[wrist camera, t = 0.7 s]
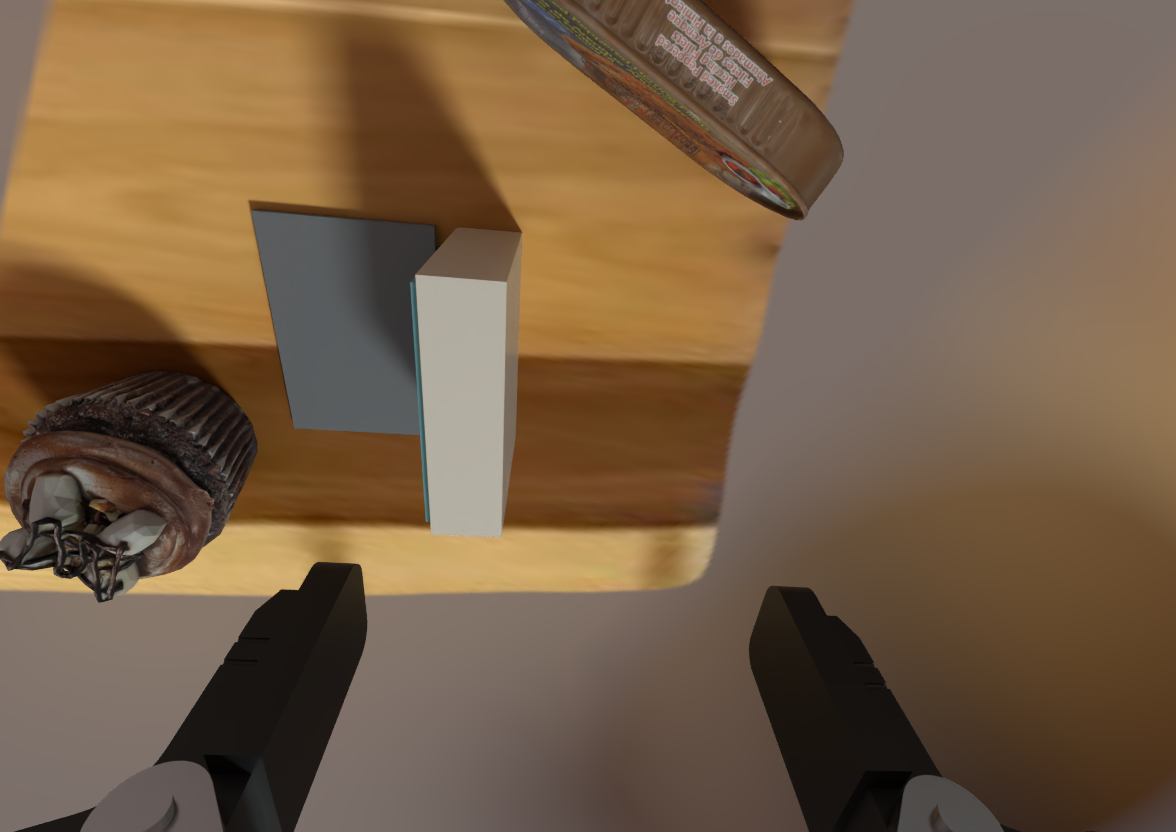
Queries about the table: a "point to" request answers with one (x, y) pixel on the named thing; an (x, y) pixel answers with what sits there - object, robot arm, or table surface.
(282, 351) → the mat
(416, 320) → the tile
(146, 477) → the cupcake
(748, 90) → the tin
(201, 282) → the table surface
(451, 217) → the table surface
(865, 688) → the robot arm
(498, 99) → the table surface
